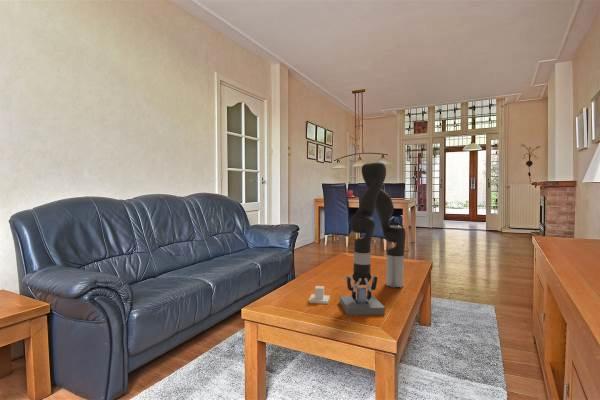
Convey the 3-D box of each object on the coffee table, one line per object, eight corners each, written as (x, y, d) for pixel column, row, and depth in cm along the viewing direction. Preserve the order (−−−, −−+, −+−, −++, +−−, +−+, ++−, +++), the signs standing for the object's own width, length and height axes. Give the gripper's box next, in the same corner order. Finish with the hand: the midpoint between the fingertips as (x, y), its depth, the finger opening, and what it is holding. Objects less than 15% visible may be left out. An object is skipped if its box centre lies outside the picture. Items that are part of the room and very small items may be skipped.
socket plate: (339, 302, 155) (339, 296, 155) (372, 301, 156) (372, 295, 156) (348, 315, 139) (348, 308, 139) (384, 314, 141) (384, 307, 140)
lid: (311, 297, 163) (311, 284, 163) (329, 298, 161) (330, 285, 161) (308, 303, 154) (308, 289, 154) (327, 304, 153) (328, 290, 152)
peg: (355, 306, 150) (356, 287, 149) (364, 306, 150) (364, 286, 150) (358, 309, 146) (358, 289, 145) (367, 309, 146) (367, 289, 146)
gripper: (375, 260, 152) (374, 296, 152) (344, 260, 150) (343, 297, 151) (380, 263, 144) (379, 301, 145) (348, 264, 143) (347, 302, 143)
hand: (361, 299), depth 148 cm, fingers open, 6 cm apart
